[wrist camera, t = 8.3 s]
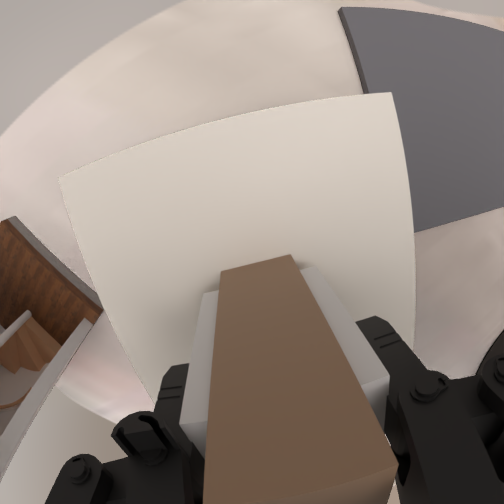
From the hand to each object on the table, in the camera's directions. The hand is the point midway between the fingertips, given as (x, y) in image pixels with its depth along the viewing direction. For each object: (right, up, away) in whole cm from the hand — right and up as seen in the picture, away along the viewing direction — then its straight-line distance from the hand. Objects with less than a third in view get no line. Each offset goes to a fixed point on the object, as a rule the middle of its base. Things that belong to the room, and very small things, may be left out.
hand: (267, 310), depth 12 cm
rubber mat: (+18, +14, +7) cm, 24 cm away
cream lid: (0, +1, +2) cm, 3 cm away
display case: (-20, -2, +10) cm, 22 cm away
